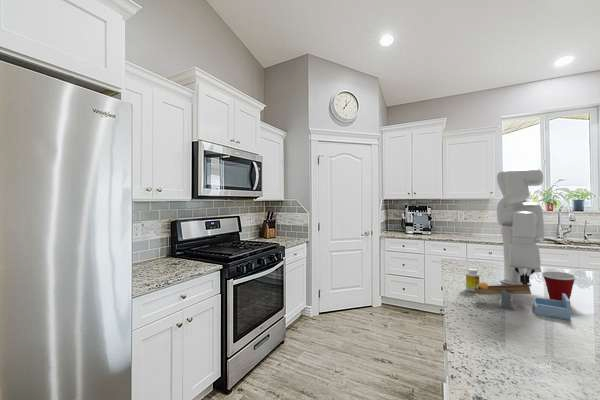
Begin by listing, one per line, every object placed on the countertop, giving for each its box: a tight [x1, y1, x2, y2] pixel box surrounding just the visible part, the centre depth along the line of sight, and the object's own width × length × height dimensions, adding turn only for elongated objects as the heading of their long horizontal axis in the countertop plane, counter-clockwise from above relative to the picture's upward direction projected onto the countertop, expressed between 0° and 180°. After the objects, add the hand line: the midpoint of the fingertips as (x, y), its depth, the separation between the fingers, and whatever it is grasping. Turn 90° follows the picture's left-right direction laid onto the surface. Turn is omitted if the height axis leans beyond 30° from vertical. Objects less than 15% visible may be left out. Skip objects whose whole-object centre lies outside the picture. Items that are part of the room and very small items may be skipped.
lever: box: [476, 284, 532, 296], centre depth 117 cm, size 13×18×3 cm
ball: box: [479, 281, 489, 289], centre depth 119 cm, size 4×4×4 cm
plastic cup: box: [541, 270, 577, 301], centre depth 117 cm, size 11×11×12 cm
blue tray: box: [531, 293, 572, 322], centre depth 106 cm, size 10×10×7 cm
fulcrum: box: [498, 290, 515, 311], centre depth 114 cm, size 10×5×7 cm, turn 143°
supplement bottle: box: [465, 268, 481, 293], centre depth 134 cm, size 6×6×10 cm
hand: (524, 284), depth 116 cm, fingers closed
